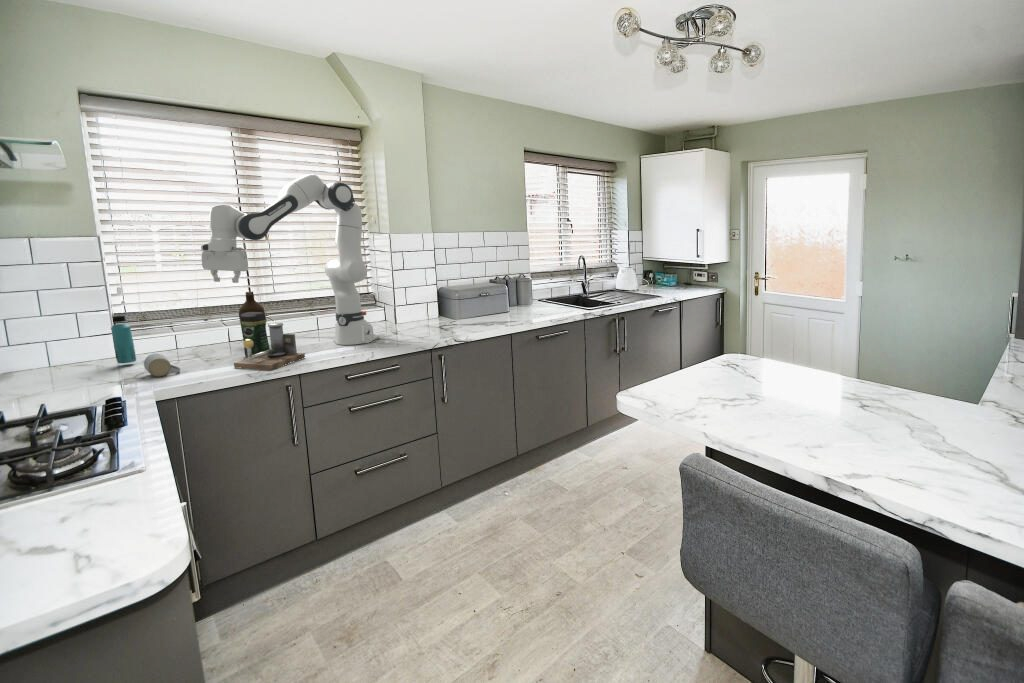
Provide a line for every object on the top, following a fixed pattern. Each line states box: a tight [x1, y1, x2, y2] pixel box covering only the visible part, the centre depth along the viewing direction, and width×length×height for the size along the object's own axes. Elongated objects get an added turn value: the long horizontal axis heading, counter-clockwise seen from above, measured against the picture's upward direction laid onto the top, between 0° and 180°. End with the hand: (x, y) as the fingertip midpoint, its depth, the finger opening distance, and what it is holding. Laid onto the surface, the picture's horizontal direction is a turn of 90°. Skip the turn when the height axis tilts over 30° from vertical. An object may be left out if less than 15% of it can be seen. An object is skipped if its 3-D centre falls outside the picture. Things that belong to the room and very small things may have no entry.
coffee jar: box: [240, 312, 271, 357], centre depth 224 cm, size 10×8×19 cm
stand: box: [233, 333, 306, 371], centre depth 211 cm, size 20×17×10 cm
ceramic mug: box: [143, 353, 181, 378], centre depth 197 cm, size 11×8×8 cm
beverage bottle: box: [110, 315, 137, 364], centre depth 210 cm, size 6×7×20 cm
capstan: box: [242, 322, 286, 360], centre depth 208 cm, size 20×7×13 cm, turn 164°
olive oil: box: [238, 291, 266, 342], centre depth 241 cm, size 11×11×25 cm
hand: (226, 282), depth 211 cm, fingers open, 8 cm apart
